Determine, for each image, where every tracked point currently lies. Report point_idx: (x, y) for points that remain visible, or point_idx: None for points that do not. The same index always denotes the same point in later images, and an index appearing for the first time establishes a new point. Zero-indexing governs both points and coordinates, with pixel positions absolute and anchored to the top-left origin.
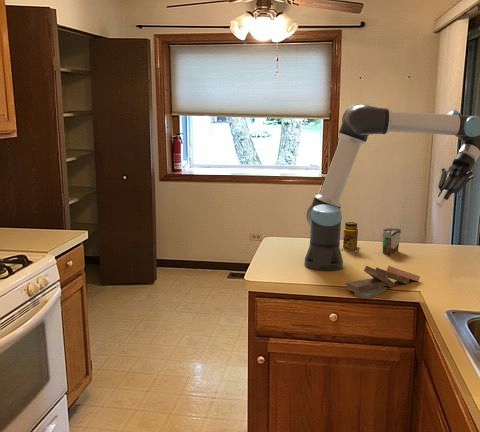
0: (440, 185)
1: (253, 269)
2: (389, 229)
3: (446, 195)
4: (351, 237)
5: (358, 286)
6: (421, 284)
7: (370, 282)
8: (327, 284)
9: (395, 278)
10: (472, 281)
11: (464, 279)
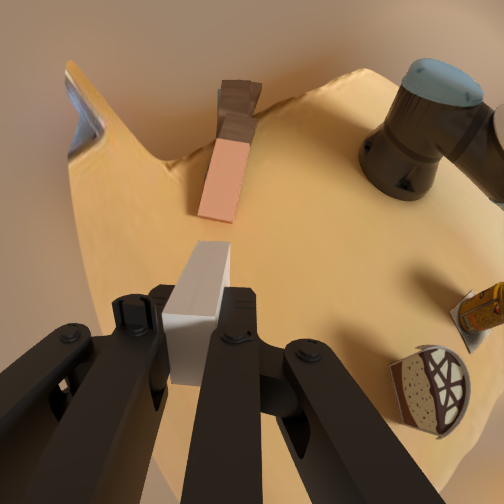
0: (303, 359)
1: None
2: (464, 405)
3: (164, 298)
4: (482, 294)
5: None
6: (185, 205)
7: None
8: (302, 99)
9: None
10: (106, 323)
11: None
